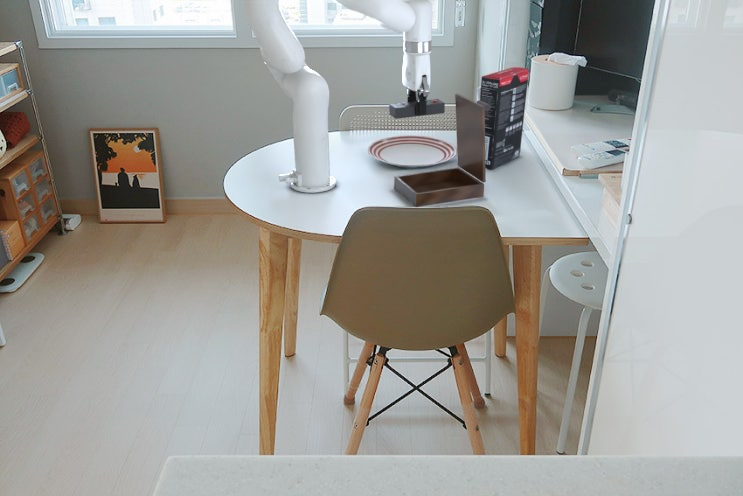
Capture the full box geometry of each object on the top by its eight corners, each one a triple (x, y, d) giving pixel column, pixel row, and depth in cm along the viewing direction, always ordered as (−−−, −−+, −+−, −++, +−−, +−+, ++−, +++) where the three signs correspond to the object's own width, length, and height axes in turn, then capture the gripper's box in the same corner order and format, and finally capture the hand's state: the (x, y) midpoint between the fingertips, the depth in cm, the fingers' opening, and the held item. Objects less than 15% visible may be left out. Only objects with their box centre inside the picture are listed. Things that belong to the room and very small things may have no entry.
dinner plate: (472, 166, 211) (473, 155, 210) (388, 178, 202) (388, 167, 201) (432, 141, 234) (432, 131, 233) (355, 151, 225) (354, 141, 224)
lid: (481, 106, 176) (500, 103, 177) (455, 94, 188) (472, 90, 189) (483, 182, 185) (500, 178, 186) (457, 165, 197) (474, 162, 199)
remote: (395, 118, 197) (395, 107, 196) (389, 114, 202) (389, 103, 200) (444, 113, 202) (444, 101, 200) (437, 109, 206) (437, 98, 204)
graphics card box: (502, 152, 222) (509, 65, 211) (522, 157, 218) (530, 68, 207) (473, 166, 211) (478, 74, 199) (494, 171, 207) (500, 78, 195)
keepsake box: (415, 210, 181) (416, 194, 179) (394, 191, 193) (394, 176, 191) (483, 199, 187) (484, 184, 185) (458, 181, 199) (458, 167, 198)
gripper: (393, 43, 200) (393, 106, 208) (417, 53, 185) (415, 121, 193) (418, 41, 202) (417, 104, 210) (443, 51, 187) (441, 118, 195)
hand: (416, 111), depth 201 cm, fingers closed on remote, 5 cm apart
